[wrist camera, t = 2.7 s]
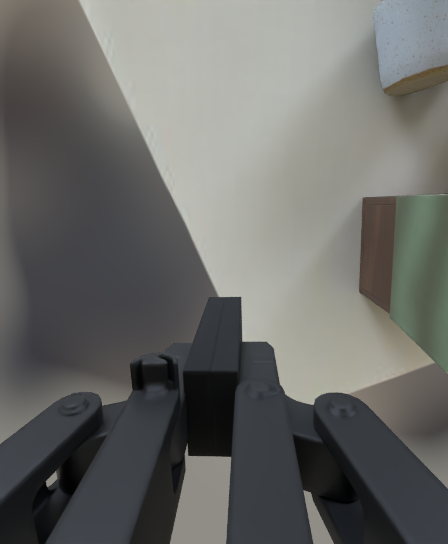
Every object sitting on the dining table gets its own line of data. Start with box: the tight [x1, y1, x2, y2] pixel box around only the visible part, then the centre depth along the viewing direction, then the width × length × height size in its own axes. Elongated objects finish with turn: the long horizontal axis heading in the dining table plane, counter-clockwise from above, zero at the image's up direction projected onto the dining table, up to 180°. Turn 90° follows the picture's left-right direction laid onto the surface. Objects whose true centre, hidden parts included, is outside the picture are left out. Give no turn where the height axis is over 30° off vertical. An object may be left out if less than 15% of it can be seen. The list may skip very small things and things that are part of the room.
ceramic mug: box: [373, 0, 448, 96], centre depth 32 cm, size 11×8×8 cm
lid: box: [390, 194, 448, 374], centre depth 23 cm, size 16×12×1 cm
